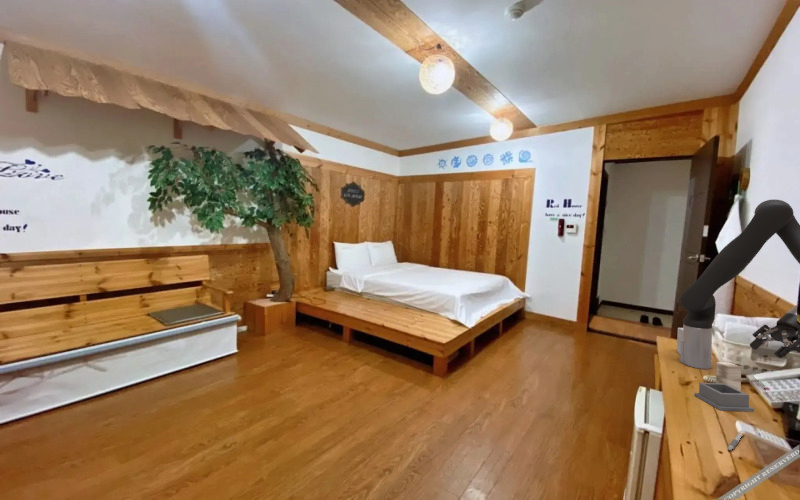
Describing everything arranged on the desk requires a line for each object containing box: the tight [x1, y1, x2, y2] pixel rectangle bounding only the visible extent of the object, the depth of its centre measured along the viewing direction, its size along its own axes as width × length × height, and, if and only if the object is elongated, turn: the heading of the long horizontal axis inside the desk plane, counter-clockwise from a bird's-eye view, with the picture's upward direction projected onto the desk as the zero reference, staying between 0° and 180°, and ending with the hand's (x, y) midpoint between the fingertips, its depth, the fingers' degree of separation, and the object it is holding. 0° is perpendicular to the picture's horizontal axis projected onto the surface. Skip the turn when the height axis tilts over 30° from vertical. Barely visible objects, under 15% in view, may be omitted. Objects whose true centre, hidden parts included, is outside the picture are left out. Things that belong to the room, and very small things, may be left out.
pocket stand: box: [694, 382, 755, 413], centre depth 109 cm, size 10×10×5 cm
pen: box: [727, 432, 742, 451], centre depth 88 cm, size 1×14×1 cm, turn 123°
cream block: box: [715, 361, 742, 391], centre depth 117 cm, size 4×4×10 cm
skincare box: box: [676, 327, 683, 355], centre depth 155 cm, size 6×4×12 cm
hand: (764, 351), depth 115 cm, fingers open, 8 cm apart
